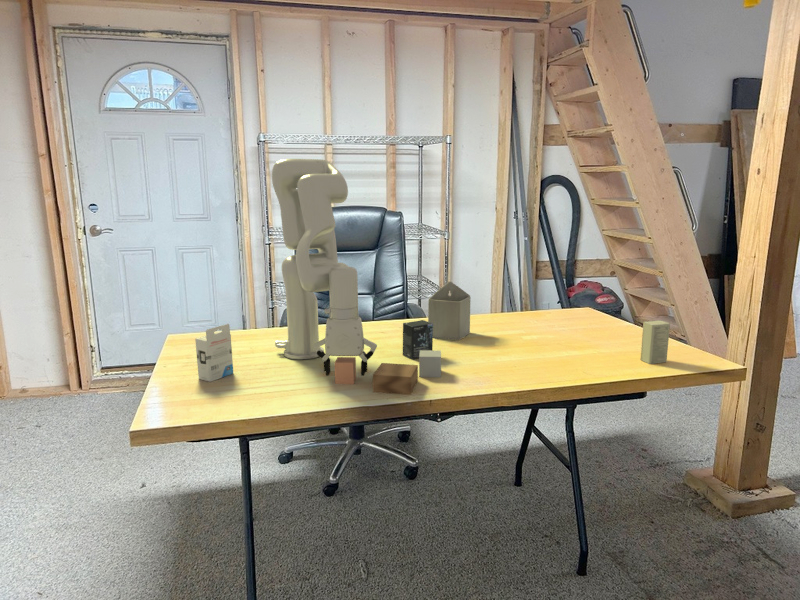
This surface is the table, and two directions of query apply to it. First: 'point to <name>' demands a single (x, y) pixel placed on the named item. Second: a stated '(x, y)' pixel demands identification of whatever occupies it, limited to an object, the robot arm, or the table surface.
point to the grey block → (429, 363)
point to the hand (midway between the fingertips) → (345, 374)
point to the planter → (449, 312)
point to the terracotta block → (345, 370)
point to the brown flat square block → (395, 378)
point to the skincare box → (655, 341)
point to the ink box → (214, 354)
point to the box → (417, 338)
